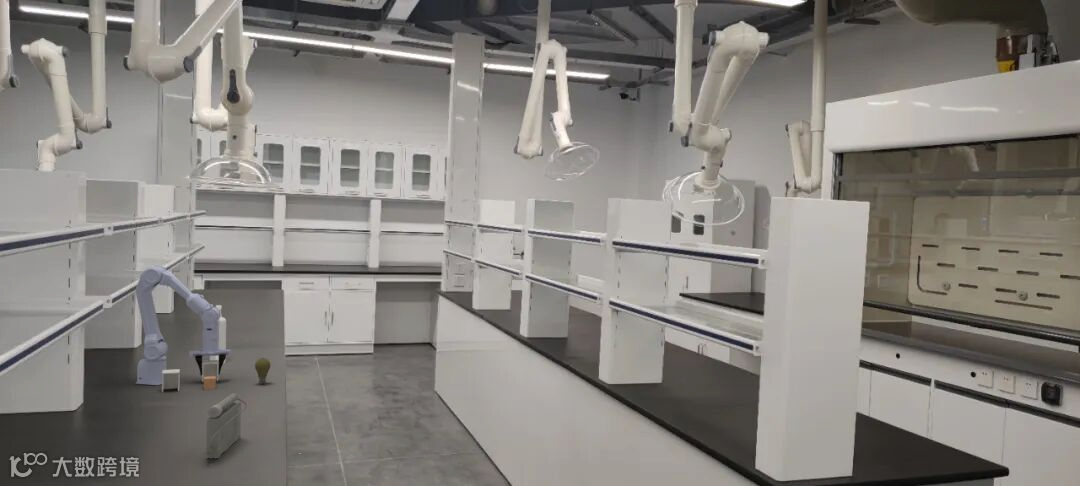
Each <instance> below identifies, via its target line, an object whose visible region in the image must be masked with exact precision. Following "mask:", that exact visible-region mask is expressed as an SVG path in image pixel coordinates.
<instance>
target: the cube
mask: <svg viewBox="0 0 1080 486" xmlns="http://www.w3.org/2000/svg"><path fill="white" fill-rule="evenodd" d="M216 387H217V378H216V376H208V377H204V379H203V390H216V389H217V388H216Z"/></svg>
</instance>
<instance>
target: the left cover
mask: <svg viewBox="0 0 1080 486" xmlns="http://www.w3.org/2000/svg"><path fill="white" fill-rule="evenodd" d="M180 372H181V370H180V368H179V369H166V370H163V372H162V384H161V393H164V390H171V389H173V390H174V389H177V392H180V389H181V386H180V383H181V382H180V380H181V379H180V378H181V376H180V374H181V373H180Z"/></svg>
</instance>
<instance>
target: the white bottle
mask: <svg viewBox="0 0 1080 486" xmlns="http://www.w3.org/2000/svg"><path fill="white" fill-rule="evenodd" d="M215 307H216V308H218V310H219V311H220V314H221V315H220V318H219V320H217V321H219V349H221V350H227V319H226V318H225V317H223V315H222V308H223V305H221V304H216V305H215ZM217 321H216V322H217ZM226 359H227V357H226V358H225V360H224V362H223V364H225V363H226V362H227V361H226ZM209 360H218V362H219V355H217V356H209Z"/></svg>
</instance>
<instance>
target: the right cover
mask: <svg viewBox="0 0 1080 486" xmlns="http://www.w3.org/2000/svg"><path fill="white" fill-rule="evenodd" d="M218 367H219V362H218V360H210V359H208V360H207V359H206V360H203V359H202V376H201V381H202V383H204V377H208V376H216V382H219V375H218Z"/></svg>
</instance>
